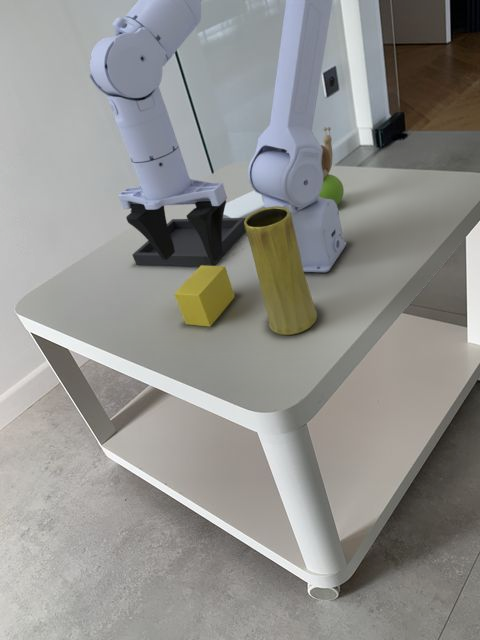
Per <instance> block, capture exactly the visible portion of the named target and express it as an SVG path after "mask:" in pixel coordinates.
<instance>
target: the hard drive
mask: <svg viewBox="0 0 480 640" xmlns="http://www.w3.org/2000/svg"><path fill="white" fill-rule="evenodd" d="M263 208H265V206H264V202H263V200H262V196H261V194H259V193H257V192H256V191H255V190H254V189H253V190H252V191H249V192H248V193H245V194H244V195H243V194H242V195H241V196H238V197H237V198H235V199H232V200H230V201H228V202H226V205H225V209H224V214H223V218H247V217H248V216H249V215H250V214H252V213H254V212H256V211H258V210H260V209H263Z"/></svg>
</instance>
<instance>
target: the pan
mask: <svg viewBox="0 0 480 640" xmlns="http://www.w3.org/2000/svg"><path fill="white" fill-rule="evenodd" d="M245 219H246V218H223V220H222V250H223V254H222V255H221V256H220V257H219V258H218V259H217V260H216V261H210V259H209V257H208V255H207V253H206V250H205V248H204V245H203V242H202V240H201V238H200V236H199V234H198V232H197V231H196V229H195V228H194V226H193V225H192V224H191V222H190V221H189V220H188V219H187V218H176V219H175V218H172V219H171V220H170V221H168V222H167V226H168V230H169V233H170V236H171V239H172V242H173V245H174V250H175V253H173V254H172V255H171V256H170V257H169V258H168V259H167V260H163V259H162V258H161V257H160V255H159V254H158V252H157V251H156V250H155V248H154V247H153V246H152V245H151V243H150V242H149V241H148V240H146V242H145V243H143V244H142V245H141V246H140V247H139V248H138V249H137V250H136V251H134V252H133V253H132V255H131V256H132V258H133V260H134V262H135V265H136V266H161V267H190V268H192V267H194V268H199V267H200V266H201V265H202V266H216V265H217V263H218V262H219V261H220V260H221V259H222V257H223V256H225V254H226V253H228V251H229V250H230V249H231V248H232V247H233V246H234V245H235V244H236V242H237V241H238V240H239V239H240V238H241V237H242V236H243V235H244V234H245V233H246V229H245V225H244V221H245Z"/></svg>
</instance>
